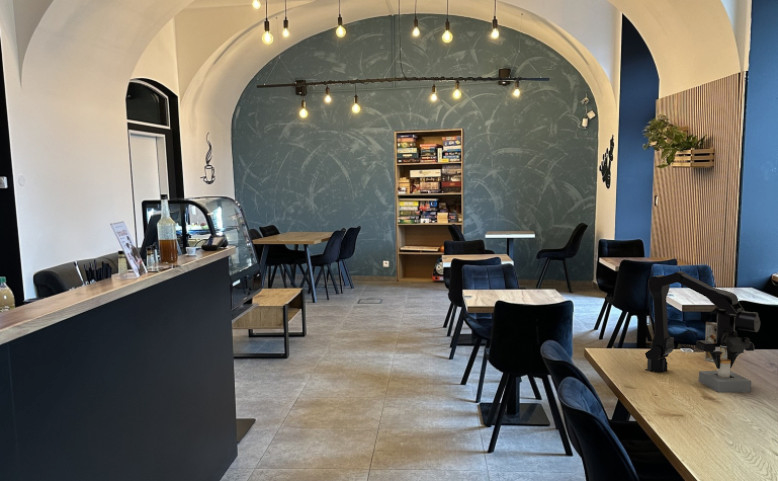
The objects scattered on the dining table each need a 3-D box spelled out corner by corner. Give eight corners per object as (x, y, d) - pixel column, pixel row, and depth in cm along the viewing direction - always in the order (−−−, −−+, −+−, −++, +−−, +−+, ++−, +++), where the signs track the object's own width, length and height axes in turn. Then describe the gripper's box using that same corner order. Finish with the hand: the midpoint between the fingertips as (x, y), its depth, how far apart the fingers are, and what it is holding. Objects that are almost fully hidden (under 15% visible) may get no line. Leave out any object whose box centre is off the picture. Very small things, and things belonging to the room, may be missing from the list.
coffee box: (728, 359, 242) (730, 323, 241) (729, 364, 237) (731, 326, 235) (704, 357, 247) (705, 321, 245) (704, 361, 241) (706, 324, 240)
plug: (721, 383, 205) (722, 361, 204) (714, 379, 209) (715, 358, 208) (732, 382, 205) (733, 361, 204) (725, 379, 209) (726, 357, 208)
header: (718, 395, 201) (718, 381, 201) (698, 383, 213) (699, 371, 213) (750, 394, 202) (751, 380, 201) (729, 383, 213) (729, 370, 213)
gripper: (714, 332, 197) (712, 376, 198) (765, 331, 198) (763, 374, 199) (695, 325, 208) (694, 366, 209) (744, 324, 209) (742, 365, 210)
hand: (723, 368), depth 207 cm, fingers closed on plug, 4 cm apart
